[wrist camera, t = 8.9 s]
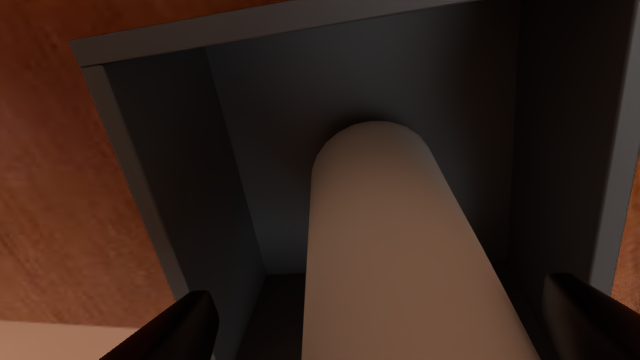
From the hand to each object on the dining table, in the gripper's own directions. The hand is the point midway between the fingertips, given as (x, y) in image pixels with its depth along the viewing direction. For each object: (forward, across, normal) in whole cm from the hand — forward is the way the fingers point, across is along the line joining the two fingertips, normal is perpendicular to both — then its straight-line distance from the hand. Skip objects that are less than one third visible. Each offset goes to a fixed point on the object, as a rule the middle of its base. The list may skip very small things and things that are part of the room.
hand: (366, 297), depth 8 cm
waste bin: (+8, 0, 0) cm, 8 cm away
